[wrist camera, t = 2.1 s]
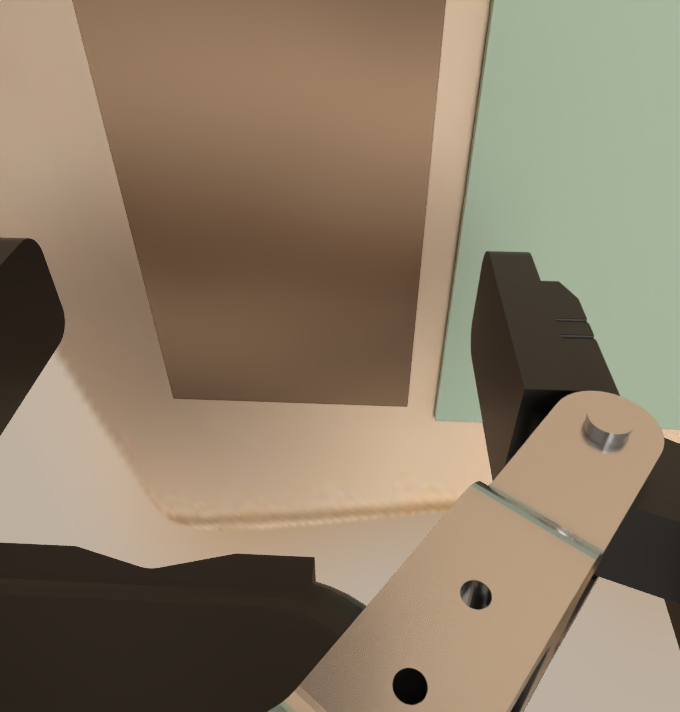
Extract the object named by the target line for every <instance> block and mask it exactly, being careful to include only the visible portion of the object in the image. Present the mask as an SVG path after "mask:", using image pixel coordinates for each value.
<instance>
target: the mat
mask: <svg viewBox="0 0 680 712" xmlns="http://www.w3.org/2000/svg"><path fill="white" fill-rule="evenodd" d="M486 251H505V252H529V253H530V254H531V255H532V258H533V260H534V263H535V266H536V269H537V272H538V274H539V277H540V280H541V281H559V282H560V283H561V284H562V285H564V286H565V287H566V288H567V289H568V290H569V291H570V292H571V293H573V294H574V295H575V296H576V297H577V298H578V299H579V301H580V303H581V306H582V308H583V310H584V313H585V315H586V317H587V323H589V324H590V327H591V329H592V331H593V334H594V339H596V341H597V343H598V345H599V348H600V350H601V352H602V355H603V357H604V359H605V361H606V364H607V366H608V368H609V371H610V373H611V375H612V378H613V380H614V382H615V385H616V387H617V389H618V392H619V394H620V396H621V397H624V398H626V399H628V400H630V401H632V402H634V403H636V404H637V405H639V406H640V407H642V408H643V409H645V410H646V411H647V412H648V413H649V414H650V415H651V416H652V417H653V418H654V419H655V420H656V421H657V423H658V424H659V426H660V428H661V429H675V430H680V0H492V1H491V9H490V16H489V23H488V30H487V38H486V45H485V52H484V59H483V67H482V74H481V81H480V88H479V96H478V103H477V110H476V117H475V125H474V132H473V139H472V146H471V153H470V161H469V168H468V175H467V182H466V190H465V197H464V204H463V211H462V219H461V226H460V233H459V240H458V248H457V255H456V262H455V269H454V277H453V284H452V291H451V298H450V305H449V313H448V320H447V327H446V334H445V342H444V349H443V356H442V363H441V371H440V378H439V385H438V392H437V400H436V407H435V414H434V415H435V421H453V422H480V423H483V422H482V416H481V410H480V404H479V398H478V393H477V387H476V381H475V375H474V370H473V364H472V358H471V326H472V319H473V313H474V307H475V301H476V296H477V290H478V284H479V278H480V272H481V266H482V261H483V257H484V254H485V252H486Z"/></svg>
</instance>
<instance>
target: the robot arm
mask: <svg viewBox="0 0 680 712" xmlns="http://www.w3.org/2000/svg"><path fill="white" fill-rule="evenodd" d="M64 327H65V318H64V312H63V308H62V305H61V302H60V300H59V297H58V294H57V291H56V288H55V286H54V283H53V280H52V277H51V274H50V272H49V269H48V266H47V263H46V260H45V258H44V255H43V252H42V250H41V248H40V246H39V245H38V243H37V242H36V241H35V240H33V239H29V238H0V435H1V434H2V432H3V430H4V429H5V427H6V426H7V424H8V423H9V421H10V420H11V418H12V417H13V415H14V414H15V412H16V410H17V409H18V407H19V406H20V404H21V403H22V401H23V400H24V398H25V396H26V395H27V393H28V392H29V390H30V389H31V387H32V385H33V384H34V382H35V381H36V379H37V378H38V376H39V375H40V373H41V372H42V370H43V369H44V367H45V365H46V364H47V362H48V361H49V359H50V358H51V356H52V355H53V353H54V351H55V350H56V348H57V347H58V345H59V344H60V342H61V340H62V337H63V334H64ZM471 358H472V364H473V370H474V375H475V381H476V387H477V393H478V398H479V404H480V410H481V416H482V422H483V427H484V433H485V439H486V445H487V451H488V456H489V462H490V468H491V474H492V480H493V482H492V483H491V484H490V485H488V486H487V485H486V484H484V483H482V482H480V481H478V482H475V483H474V484H472V485H471V486H470V487H469V488H468V489H467V490H466V491H465V492H464V493H463V494H462V495H461V496H460V498H459V499H458V500H457V501H456V502H455V503H454V505H453V506H452V507H451V508H450V509H449V510H448V512H447V513H446V514H445V515H444V516H443V517H442V519H441V520H440V521H439V522H438V523H437V525H436V526H435V527H434V528H433V529H432V531H431V532H430V533H429V534H428V535H427V537H425V539H424V540H423V541H422V542H421V543H420V545H419V546H418V547H417V548H416V549H415V550H414V552H413V553H412V554H411V555H410V556H409V557H408V559H407V560H406V561H405V562H404V563H403V564H402V566H401V567H400V568H399V569H398V570H397V572H396V573H395V574H394V575H393V576H392V577H391V578H390V580H389V581H388V582H387V583H386V584H385V585H384V587H383V588H382V589H381V590H380V591H379V593H378V594H377V595H376V596H375V597H374V598H373V600H372V601H371V602H370V603H369V604H368V605H367V606H366V605H364V604H363V603H361V602H359V601H358V600H356V599H355V598H353V597H351V596H349V595H348V594H346V593H344V592H342V591H340V590H337V589H335V588H333V587H331V586H327V585H325V584H321V583H318V582H316V579H315V560H314V557H295V556H274V555H273V556H272V555H252V554H232V555H226V556H221V557H216V558H210V559H205V560H199V561H194V562H189V563H183V564H178V565H172V566H167V567H161V568H154V569H149V568H143V567H139V566H135V565H133V564H130V563H127V562H123V561H120V560H117V559H114V558H111V557H108V556H105V555H101V554H98V553H95V552H92V551H89V550H86V549H83V548H80V547H76V546H59V545H37V544H16V543H0V712H524V710H525V708H526V706H527V705H528V703H529V701H530V699H531V697H532V695H533V693H534V691H535V690H536V688H537V686H538V684H539V682H540V680H541V678H542V676H543V675H544V673H545V671H546V669H547V667H548V666H549V664H550V662H551V660H552V658H553V657H554V655H555V653H556V652H557V650H558V648H559V646H560V645H561V643H562V641H563V639H564V638H565V636H566V634H567V632H568V631H569V629H570V627H571V625H572V624H573V622H574V620H575V618H576V616H577V615H578V613H579V611H580V610H581V608H582V606H583V604H584V603H585V601H586V599H587V597H588V596H589V594H590V592H591V590H592V588H593V587H594V585H595V583H596V581H597V579H598V578H599V577H602V578H605V579H608V580H611V581H614V582H616V583H619V584H623V585H626V586H628V587H631V588H634V589H637V590H640V591H643V592H646V593H649V594H652V595H655V596H657V597H660V598H663V599H664V600H665V603H666V606H667V610H668V613H669V616H670V619H671V623H672V626H673V629H674V632H675V636H676V638H677V642H678V645H679V648H680V444H679V443H676V442H673V441H671V440H669V439H666V438H664V436H663V432H662V430H661V428H660V426H659V424H658V423H657V421H656V420H655V419H654V418H653V417H652V416H651V415H650V414H649V413H648V412H647V411H646V410H645V409H643V408H642V407H640V406H639V405H637V404H636V403H634V402H632V401H630V400H628V399H626V398H624V397H621V396H620V394H619V392H618V389H617V387H616V385H615V382H614V380H613V378H612V375H611V373H610V371H609V368H608V366H607V364H606V361H605V359H604V357H603V355H602V352H601V350H600V348H599V345H598V343H597V341H596V339H594V334H593V331H592V329H591V327H590V324H589V323H587V317H586V315H585V313H584V310H583V308H582V306H581V303H580V301H579V299H578V298H577V297H576V296H575V295H574V294H573V293H571V292H570V291H569V290H568V289H567V288H566V287H565V286H564V285H562V284H561V283H560V282H559V281H541V280H540V277H539V274H538V272H537V269H536V266H535V263H534V260H533V258H532V255H531V254H530V253H529V252H505V251H486V252H485V254H484V257H483V261H482V266H481V272H480V278H479V284H478V290H477V296H476V301H475V307H474V313H473V319H472V326H471Z"/></svg>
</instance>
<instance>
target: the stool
mask: <svg viewBox="0 0 680 712" xmlns="http://www.w3.org/2000/svg"><path fill="white" fill-rule="evenodd" d="M72 1H73V5H74V9H75V13H76V17H77V21H78V25H79V29H80V33H81V37H82V41H83V45H84V48H85V52H86V56H87V60H88V64H89V68H90V72H91V76H92V80H93V84H94V88H95V92H96V96H97V100H98V103H99V107H100V111H101V115H102V119H103V123H104V127H105V131H106V135H107V139H108V143H109V147H110V151H111V154H112V158H113V162H114V166H115V170H116V174H117V178H118V182H119V186H120V190H121V194H122V198H123V202H124V206H125V209H126V213H127V217H128V221H129V225H130V229H131V233H132V237H133V241H134V245H135V249H136V253H137V257H138V260H139V264H140V268H141V272H142V276H143V280H144V284H145V288H146V292H147V296H148V300H149V304H150V308H151V312H152V315H153V319H154V323H155V327H156V331H157V335H158V339H159V343H160V347H161V351H162V355H163V359H164V363H165V366H166V370H167V374H168V378H169V382H170V386H171V390H172V394H173V398H174V399H202V400H231V401H259V402H288V403H316V404H345V405H373V406H402V407H407V404H408V393H409V383H410V372H411V362H412V351H413V341H414V330H415V320H416V309H417V299H418V288H419V278H420V267H421V257H422V246H423V236H424V225H425V215H426V204H427V194H428V183H429V173H430V162H431V152H432V141H433V131H434V120H435V110H436V99H437V89H438V78H439V68H440V57H441V47H442V36H443V26H444V15H445V5H446V0H72Z"/></svg>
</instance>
